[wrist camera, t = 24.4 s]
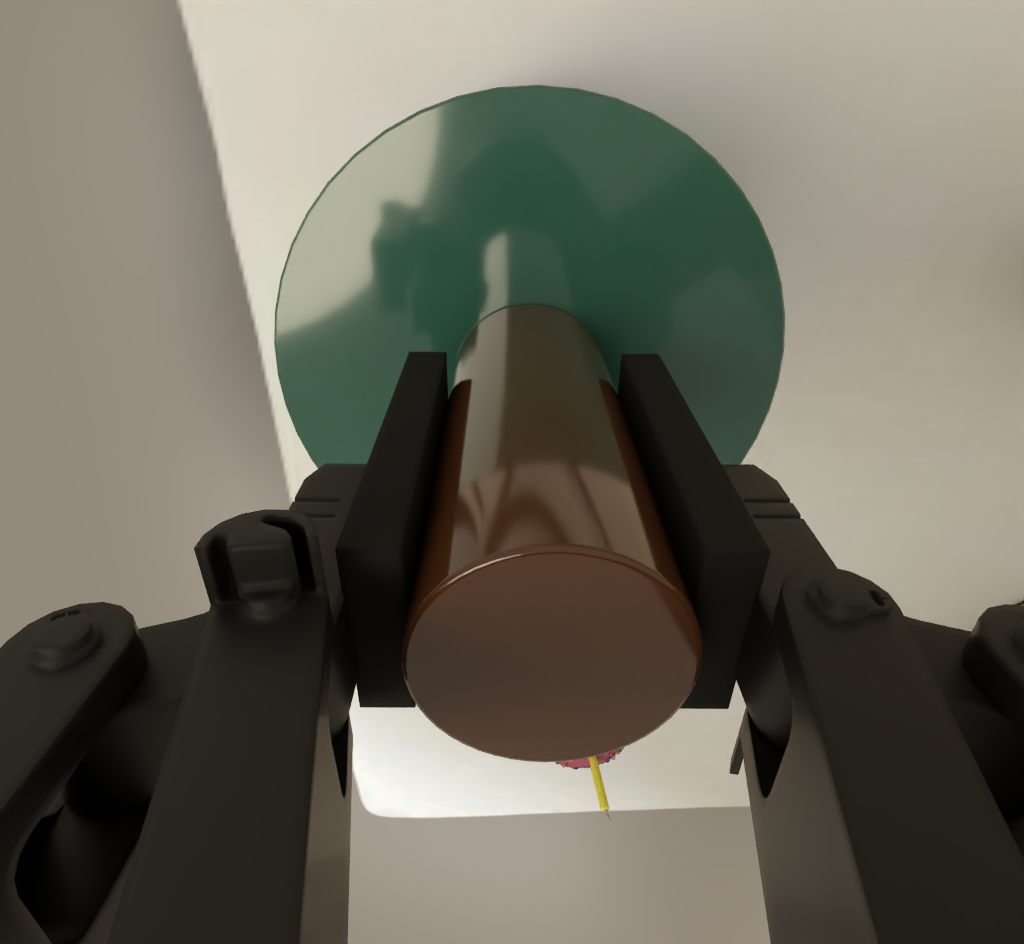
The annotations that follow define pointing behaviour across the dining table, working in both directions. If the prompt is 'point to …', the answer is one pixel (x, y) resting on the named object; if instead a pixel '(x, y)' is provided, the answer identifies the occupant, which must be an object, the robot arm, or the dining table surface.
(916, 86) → the dining table surface
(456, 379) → the canister lid
